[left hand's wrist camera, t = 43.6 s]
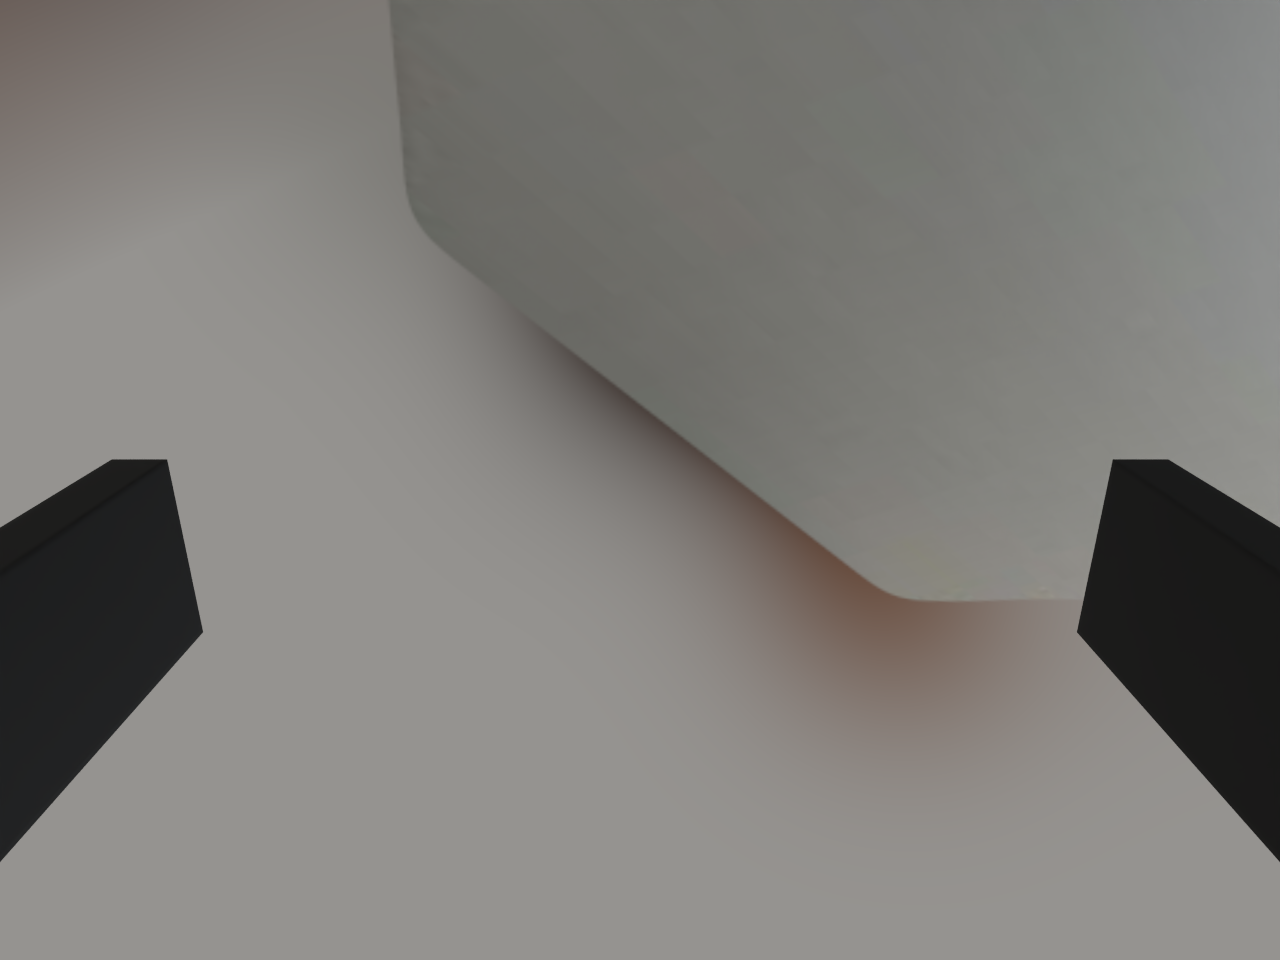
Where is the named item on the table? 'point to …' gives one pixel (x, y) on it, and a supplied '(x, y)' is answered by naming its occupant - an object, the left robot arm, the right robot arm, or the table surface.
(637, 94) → the table surface
